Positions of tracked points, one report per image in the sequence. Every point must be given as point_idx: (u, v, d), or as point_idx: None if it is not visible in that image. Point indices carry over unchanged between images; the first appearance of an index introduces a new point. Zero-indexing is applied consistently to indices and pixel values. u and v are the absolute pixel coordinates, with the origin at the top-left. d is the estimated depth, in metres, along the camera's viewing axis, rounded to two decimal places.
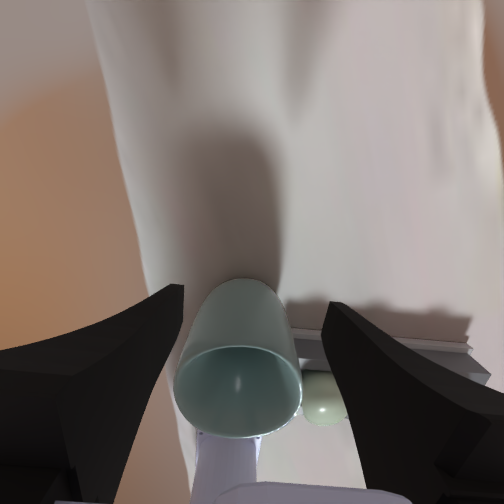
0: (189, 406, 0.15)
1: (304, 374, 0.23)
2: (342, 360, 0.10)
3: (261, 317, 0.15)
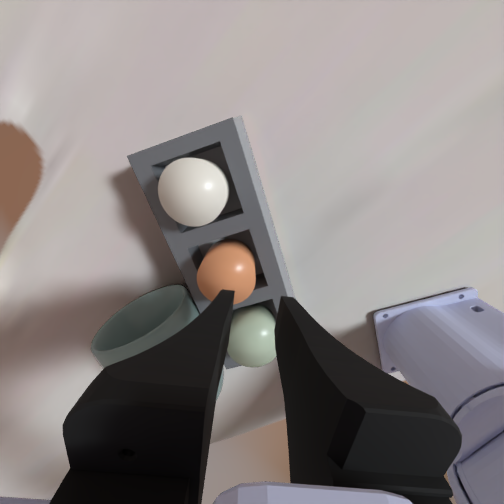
0: None
1: None
2: (285, 354, 0.10)
3: None
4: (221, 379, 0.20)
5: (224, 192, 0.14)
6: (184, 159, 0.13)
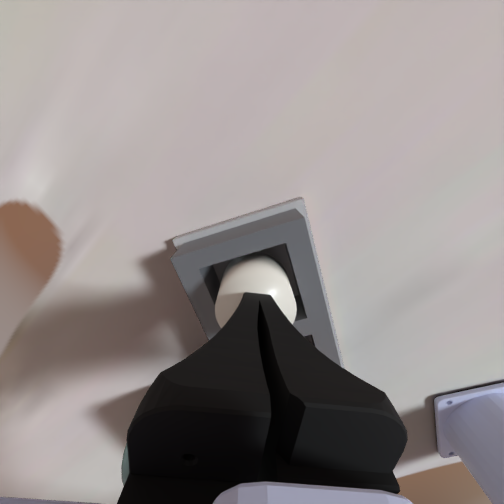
0: None
1: None
2: None
3: None
4: None
5: (295, 309, 0.12)
6: (250, 276, 0.11)
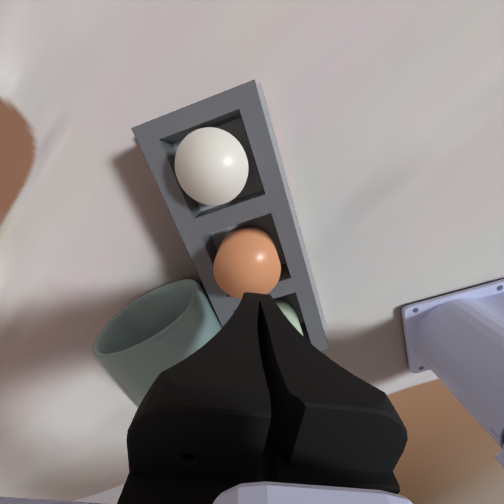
0: None
1: None
2: None
3: None
4: None
5: (247, 166, 0.13)
6: (204, 129, 0.12)
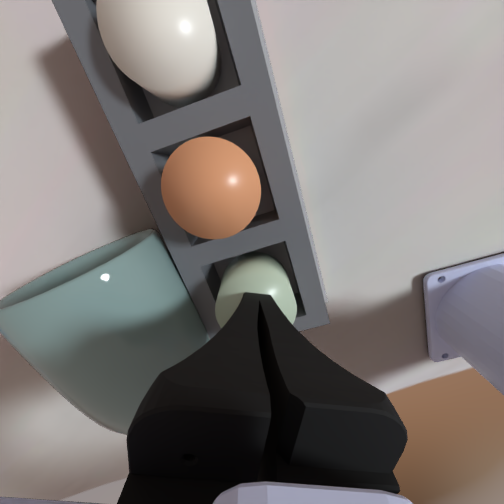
0: None
1: None
2: None
3: None
4: None
5: (209, 21, 0.08)
6: None
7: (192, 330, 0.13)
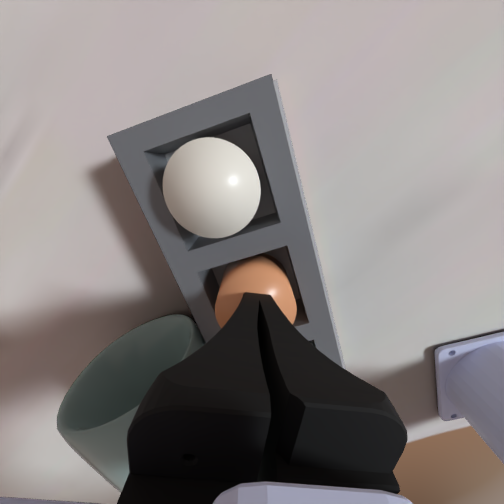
0: None
1: None
2: None
3: None
4: None
5: (259, 189, 0.10)
6: (202, 140, 0.09)
7: None
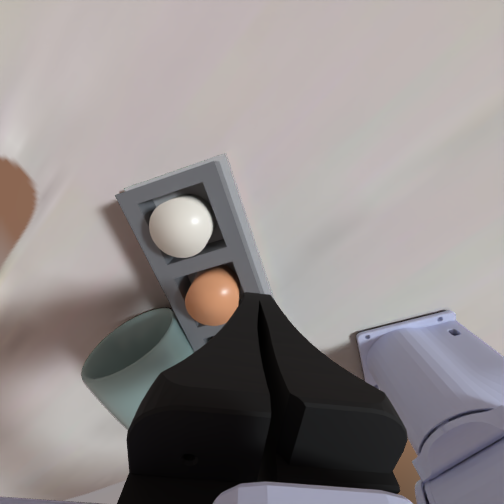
0: None
1: None
2: None
3: None
4: None
5: (208, 228, 0.16)
6: (172, 201, 0.15)
7: None
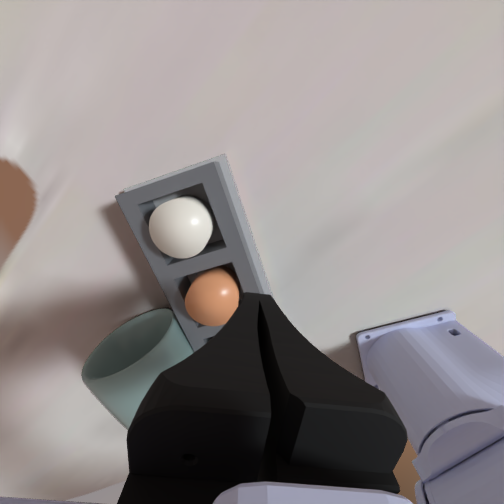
0: None
1: None
2: None
3: None
4: None
5: (208, 229, 0.16)
6: (172, 201, 0.15)
7: None
